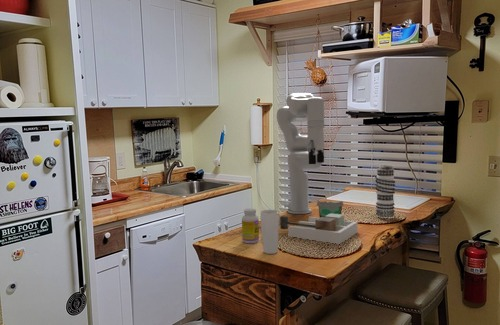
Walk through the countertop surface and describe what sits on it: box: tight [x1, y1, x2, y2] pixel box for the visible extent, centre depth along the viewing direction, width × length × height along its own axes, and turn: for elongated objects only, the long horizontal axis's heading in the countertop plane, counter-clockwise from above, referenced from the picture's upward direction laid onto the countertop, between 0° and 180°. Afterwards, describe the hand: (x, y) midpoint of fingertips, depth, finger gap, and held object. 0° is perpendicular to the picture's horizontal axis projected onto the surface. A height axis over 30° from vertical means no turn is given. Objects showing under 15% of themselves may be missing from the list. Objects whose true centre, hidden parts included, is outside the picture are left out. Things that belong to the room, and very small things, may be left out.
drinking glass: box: [259, 209, 280, 255], centre depth 151 cm, size 7×7×15 cm
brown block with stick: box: [279, 215, 336, 232], centre depth 172 cm, size 24×6×6 cm, turn 56°
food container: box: [316, 200, 344, 218], centre depth 192 cm, size 12×6×10 cm, turn 70°
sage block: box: [325, 213, 345, 226], centre depth 175 cm, size 6×6×6 cm
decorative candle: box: [374, 164, 396, 218], centre depth 200 cm, size 9×9×25 cm
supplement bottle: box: [241, 208, 260, 244], centre depth 165 cm, size 7×7×13 cm
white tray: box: [287, 216, 359, 245], centre depth 173 cm, size 22×20×4 cm
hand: (316, 163), depth 188 cm, fingers open, 9 cm apart
